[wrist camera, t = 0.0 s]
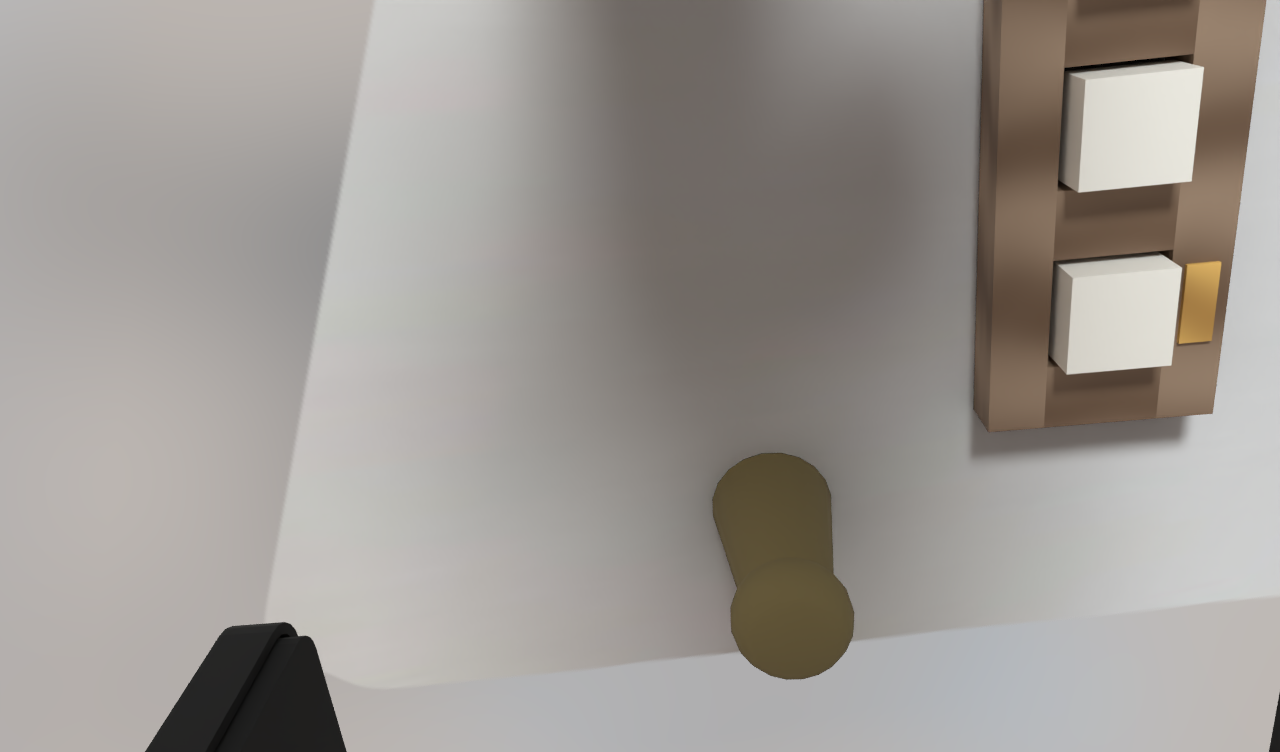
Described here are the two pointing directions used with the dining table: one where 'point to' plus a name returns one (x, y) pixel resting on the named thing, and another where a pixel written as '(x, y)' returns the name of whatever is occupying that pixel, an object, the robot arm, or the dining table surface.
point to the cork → (782, 566)
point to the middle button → (1129, 125)
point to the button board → (1103, 203)
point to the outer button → (1113, 312)
